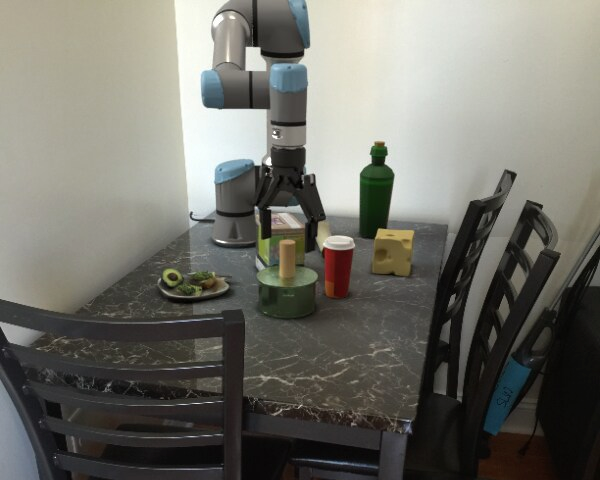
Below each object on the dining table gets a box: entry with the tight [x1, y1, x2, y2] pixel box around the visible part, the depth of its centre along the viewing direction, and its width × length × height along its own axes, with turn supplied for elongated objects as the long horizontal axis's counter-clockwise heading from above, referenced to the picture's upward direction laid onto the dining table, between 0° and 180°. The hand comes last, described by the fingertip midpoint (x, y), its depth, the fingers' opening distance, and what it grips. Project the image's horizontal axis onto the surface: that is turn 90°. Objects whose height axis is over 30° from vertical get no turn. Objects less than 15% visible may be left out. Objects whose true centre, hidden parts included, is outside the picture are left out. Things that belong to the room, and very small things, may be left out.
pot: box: [258, 281, 317, 320], centre depth 154 cm, size 13×19×8 cm
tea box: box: [255, 212, 306, 272], centre depth 171 cm, size 15×10×15 cm
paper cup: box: [323, 235, 356, 299], centre depth 160 cm, size 8×8×14 cm
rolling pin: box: [315, 220, 332, 261], centre depth 194 cm, size 32×6×5 cm, turn 5°
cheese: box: [372, 228, 415, 277], centre depth 178 cm, size 10×11×10 cm
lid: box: [255, 240, 319, 289], centre depth 150 cm, size 14×14×9 cm
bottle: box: [358, 140, 396, 239], centre depth 200 cm, size 11×11×28 cm
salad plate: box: [156, 267, 233, 303], centre depth 164 cm, size 19×18×5 cm
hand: (287, 244), depth 148 cm, fingers open, 13 cm apart
